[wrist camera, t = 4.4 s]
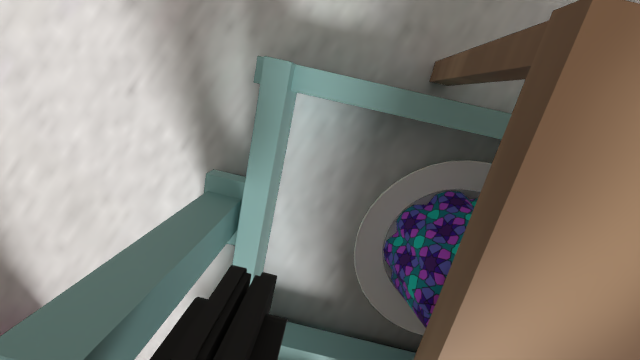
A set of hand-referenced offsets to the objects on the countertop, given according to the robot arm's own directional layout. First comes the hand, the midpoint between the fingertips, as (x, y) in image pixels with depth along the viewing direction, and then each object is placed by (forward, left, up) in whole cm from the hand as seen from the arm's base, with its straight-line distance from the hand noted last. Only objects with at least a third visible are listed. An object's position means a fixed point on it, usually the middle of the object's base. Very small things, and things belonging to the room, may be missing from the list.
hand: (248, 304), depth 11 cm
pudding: (-10, 0, -9) cm, 13 cm away
